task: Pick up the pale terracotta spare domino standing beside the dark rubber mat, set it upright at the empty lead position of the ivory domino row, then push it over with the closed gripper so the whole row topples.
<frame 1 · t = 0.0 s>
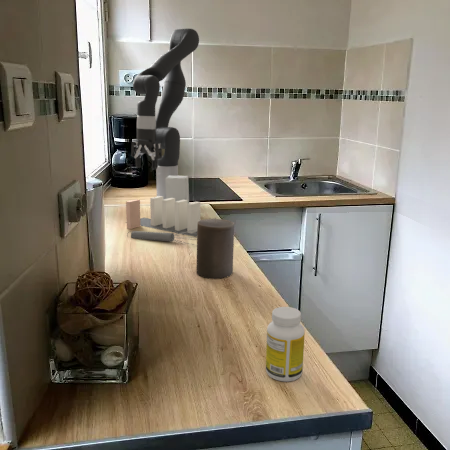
hand: (146, 168, 196), 17 cm above the counter, tool pointing down, fingers open, 8 cm apart
kitchen whisk: (173, 245, 154), on the counter
pill bottle: (283, 373, 82), on the counter
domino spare: (133, 228, 172), on the counter
mat: (168, 227, 173), on the counter
skincare box: (177, 215, 192), on the counter
domino 5: (193, 231, 167), resting on mat
domino 3: (169, 226, 173), resting on mat
domino 2: (157, 224, 176), resting on mat
pillar candle: (215, 273, 129), on the counter
domino 4: (181, 229, 170), resting on mat
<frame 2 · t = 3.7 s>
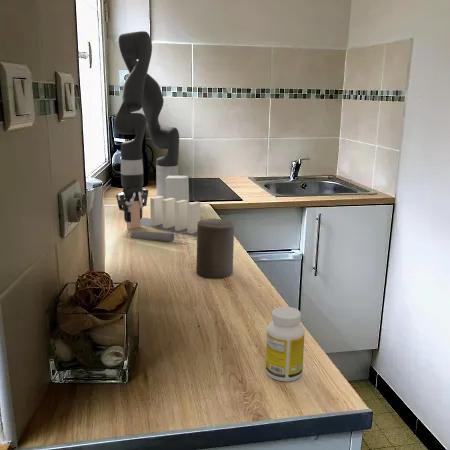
hand: (133, 220, 171), 3 cm above the counter, tool pointing down, fingers closed on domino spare, 5 cm apart
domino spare: (133, 228, 171), on the counter, touching gripper
everything else where it was.
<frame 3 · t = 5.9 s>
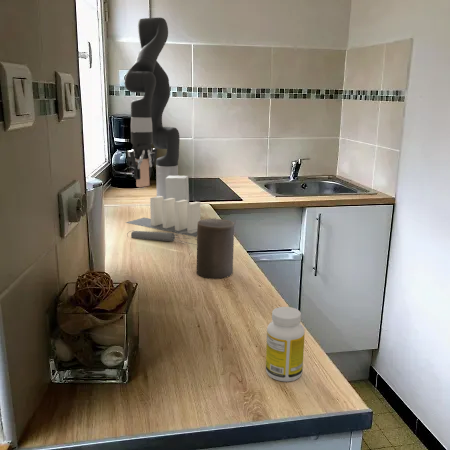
hand: (142, 178, 175), 17 cm above the counter, tool pointing down, fingers closed on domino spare, 5 cm apart
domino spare: (143, 186, 176), point 14 cm above the counter, touching gripper
everything else where it was.
when the fingers open (4 cm above the counter, at t = 8.6 s): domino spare stays where it is, resting on mat.
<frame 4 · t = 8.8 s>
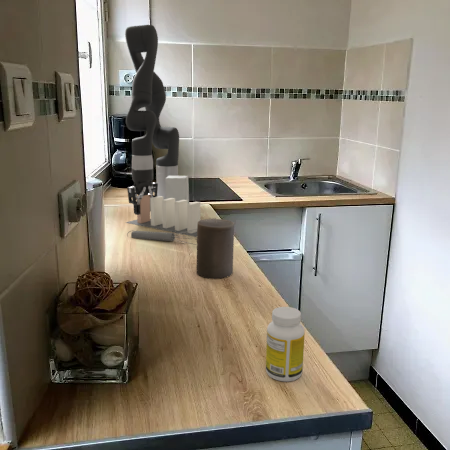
hand: (143, 212, 178), 4 cm above the counter, tool pointing down, fingers open, 6 cm apart
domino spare: (143, 221, 179), resting on mat
everything else where it was.
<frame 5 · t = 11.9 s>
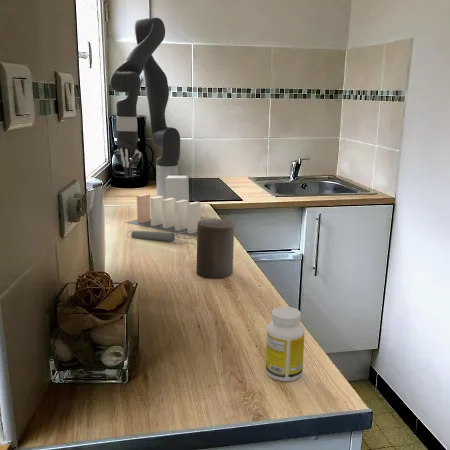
hand: (128, 177, 179), 16 cm above the counter, tool pointing down, fingers closed
nothing on the counter moved.
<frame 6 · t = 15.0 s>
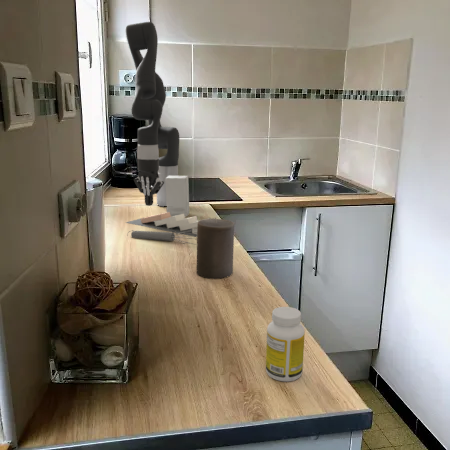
hand: (149, 205, 176), 7 cm above the counter, tool pointing down, fingers closed
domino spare: (145, 219, 179), point 1 cm above the counter, tilted 73°, touching domino 2, mat
domino 5: (196, 229, 166), point 1 cm above the counter, tilted 90°, touching domino 4, mat
domino 3: (171, 224, 172), point 1 cm above the counter, tilted 71°, touching domino 2, domino 4
domino 2: (159, 222, 175), point 1 cm above the counter, tilted 71°, touching domino 3, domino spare, mat
domino 4: (184, 226, 169), point 1 cm above the counter, tilted 71°, touching domino 3, domino 5
everything else where it was.
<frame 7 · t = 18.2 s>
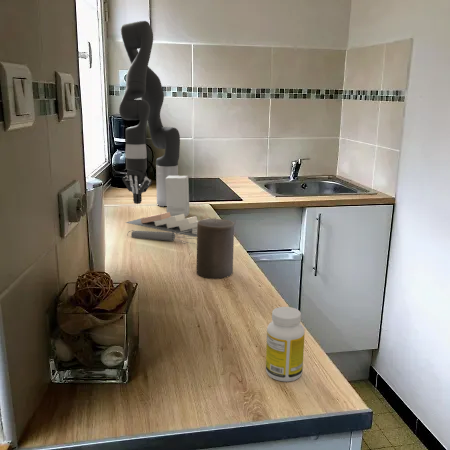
hand: (137, 203, 180), 7 cm above the counter, tool pointing down, fingers closed
domino 3: (171, 224, 172), point 1 cm above the counter, tilted 71°, touching domino 2, domino 4, mat
domino 4: (184, 227, 169), point 1 cm above the counter, tilted 70°, touching domino 3, domino 5, mat
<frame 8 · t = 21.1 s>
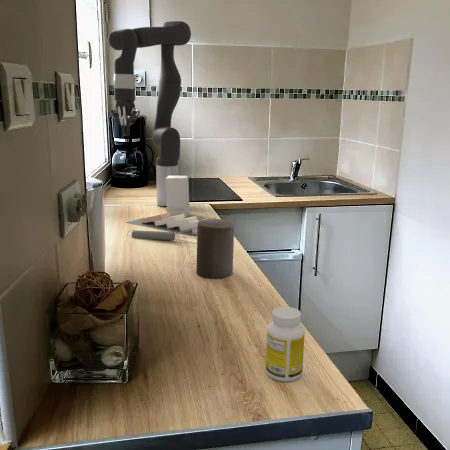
hand: (126, 135, 181), 31 cm above the counter, tool pointing down, fingers closed
at the end: domino 5 tilted 90°; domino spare inside the target area (3.6 cm from its centre), point 1.3 cm above the counter; domino 3 tilted 71° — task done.
